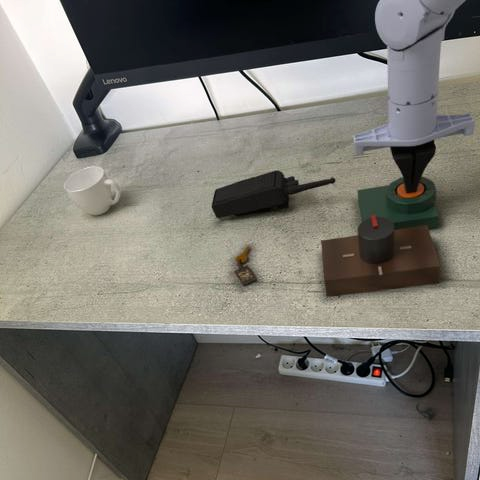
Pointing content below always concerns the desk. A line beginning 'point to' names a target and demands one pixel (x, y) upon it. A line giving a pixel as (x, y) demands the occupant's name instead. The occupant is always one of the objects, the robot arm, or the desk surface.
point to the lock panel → (380, 264)
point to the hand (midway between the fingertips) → (410, 188)
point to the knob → (376, 239)
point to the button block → (400, 205)
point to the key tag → (244, 269)
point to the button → (403, 194)
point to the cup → (92, 190)
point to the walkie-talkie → (259, 194)
